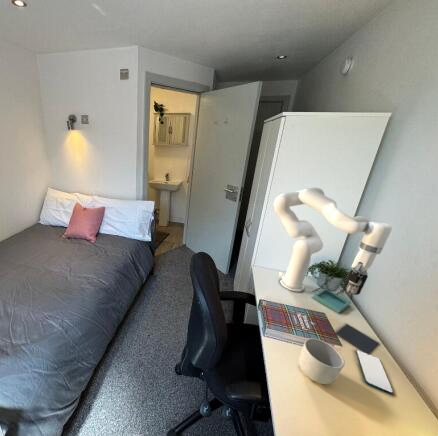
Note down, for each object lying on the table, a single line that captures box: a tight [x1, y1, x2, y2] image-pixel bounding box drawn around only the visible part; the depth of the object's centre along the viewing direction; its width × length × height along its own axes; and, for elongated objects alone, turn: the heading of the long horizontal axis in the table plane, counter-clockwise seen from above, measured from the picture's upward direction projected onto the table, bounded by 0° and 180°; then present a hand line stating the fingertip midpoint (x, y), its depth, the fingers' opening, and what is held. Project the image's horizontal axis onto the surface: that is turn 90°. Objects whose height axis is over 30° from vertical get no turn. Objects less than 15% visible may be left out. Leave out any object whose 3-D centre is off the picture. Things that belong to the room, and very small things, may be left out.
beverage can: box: [343, 267, 369, 296], centre depth 113 cm, size 7×7×12 cm
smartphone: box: [355, 349, 394, 395], centre depth 91 cm, size 8×1×16 cm
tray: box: [313, 288, 352, 314], centre depth 129 cm, size 13×13×2 cm
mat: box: [335, 323, 379, 355], centre depth 106 cm, size 12×12×1 cm
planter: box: [298, 337, 346, 385], centre depth 88 cm, size 12×12×11 cm
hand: (356, 279), depth 113 cm, fingers closed on beverage can, 6 cm apart
